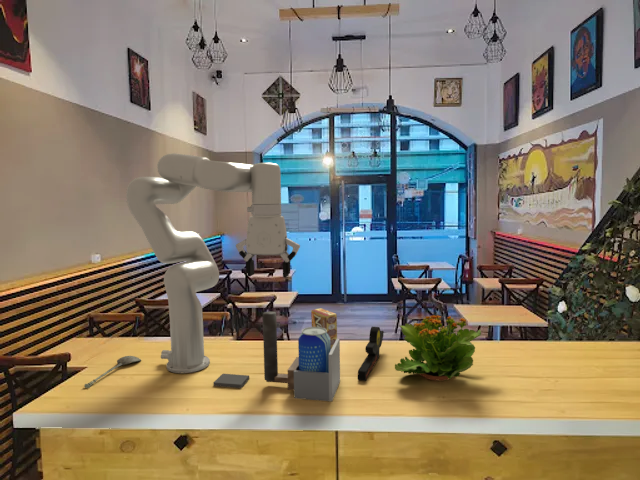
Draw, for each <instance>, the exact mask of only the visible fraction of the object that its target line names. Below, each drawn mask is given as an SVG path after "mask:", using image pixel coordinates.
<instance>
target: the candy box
mask: <svg viewBox="0 0 640 480" xmlns="http://www.w3.org/2000/svg"><path fill="white" fill-rule="evenodd" d="M310 312H311V313H310V314H311V319H310V320H311V327H322V328H325V329H326V330H327V334H328V335H329V337H330V343H331V349H332V347H333V345H334V343H335V341H336V339H338V320H337V319H338V318H337V317H338V315H337V313H335V312H332V311H330V310H327V309H324V308H320V307H319V308H314V309H311V310H310Z"/></svg>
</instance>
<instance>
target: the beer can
mask: <svg viewBox="0 0 640 480" xmlns="http://www.w3.org/2000/svg"><path fill="white" fill-rule="evenodd" d="M299 335H300V336H299V337H298V345H297V346H298V357H299V371H312V372H326V373H329V353H330V351H331V343H330V337H329V335H328V334H327V330H326V329H325V328H322V327H312V326H308V327H304V328H303V329H301V333H300V334H299Z"/></svg>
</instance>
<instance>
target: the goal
mask: <svg viewBox="0 0 640 480" xmlns="http://www.w3.org/2000/svg"><path fill="white" fill-rule="evenodd" d="M340 340H341V339H340V338H337V339H336V341H335V343H334V345H333V347H332V349H331V351H330V353H329V373H326V372H312V371H298V370H294V390H293V395H294V397H293V398H294V399H301V400H310V401H311V400H312V401H322V402H323V401H324V402H333V400H334V398H335V395H336V393H337V390H338V387H339V385H340V382H341V349H340V348H341V345H340V344H341V343H340V342H341V341H340Z"/></svg>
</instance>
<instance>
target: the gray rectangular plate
mask: <svg viewBox="0 0 640 480" xmlns="http://www.w3.org/2000/svg"><path fill="white" fill-rule="evenodd" d="M249 380H250V375H247V374H233V373H232V374H231V373H222V374H220V376H218V378H216V379H215V380H214V381H213V382H212V383H213V387H224V388H233V389H234V388H235V389H236V388H237V389H242V388H243V387H244V386H245V384H247V382H248V381H249Z"/></svg>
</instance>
